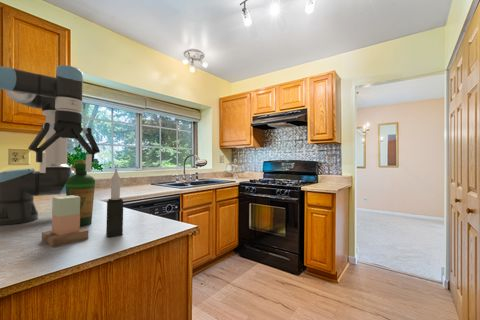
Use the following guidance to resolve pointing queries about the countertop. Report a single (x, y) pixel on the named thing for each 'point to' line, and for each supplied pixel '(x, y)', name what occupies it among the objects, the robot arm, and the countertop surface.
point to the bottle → (82, 191)
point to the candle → (115, 209)
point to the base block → (64, 237)
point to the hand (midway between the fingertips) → (67, 172)
